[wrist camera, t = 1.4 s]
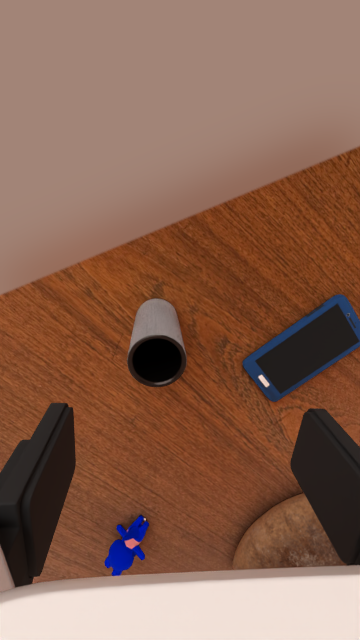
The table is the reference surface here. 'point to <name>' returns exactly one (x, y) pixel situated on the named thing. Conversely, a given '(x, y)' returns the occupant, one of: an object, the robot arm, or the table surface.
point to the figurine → (127, 547)
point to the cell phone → (305, 348)
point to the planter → (156, 345)
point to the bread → (286, 539)
